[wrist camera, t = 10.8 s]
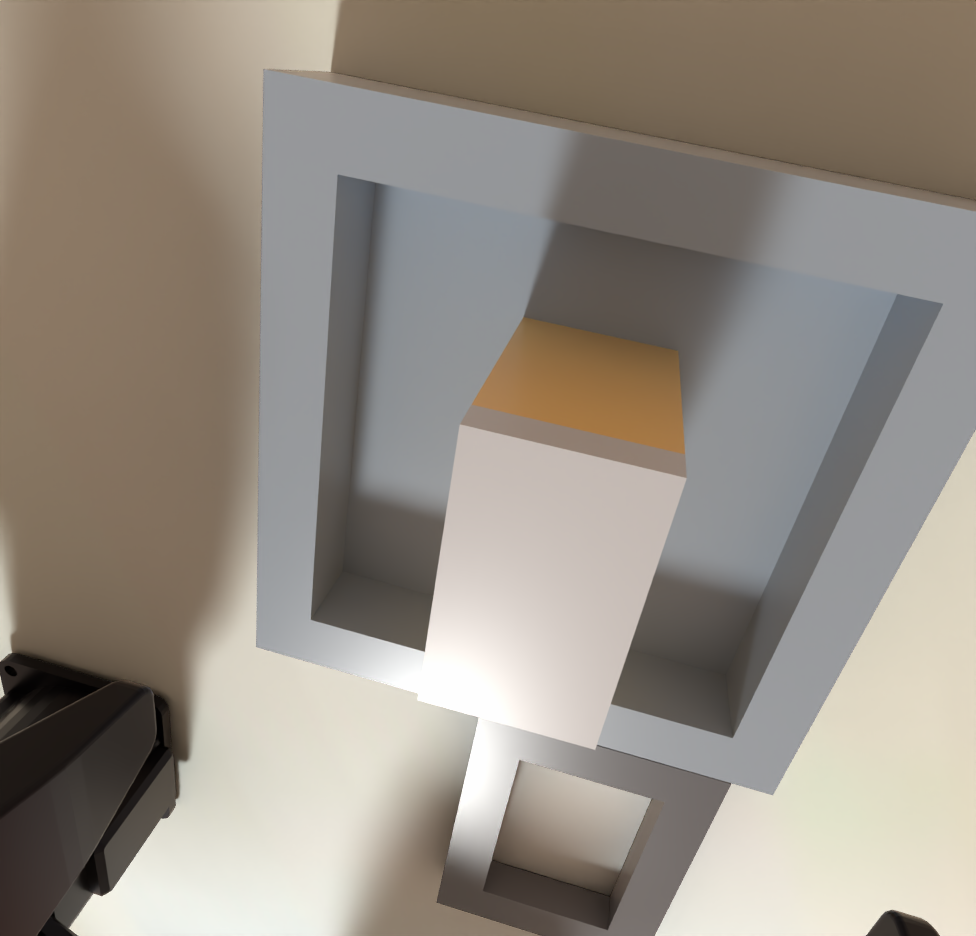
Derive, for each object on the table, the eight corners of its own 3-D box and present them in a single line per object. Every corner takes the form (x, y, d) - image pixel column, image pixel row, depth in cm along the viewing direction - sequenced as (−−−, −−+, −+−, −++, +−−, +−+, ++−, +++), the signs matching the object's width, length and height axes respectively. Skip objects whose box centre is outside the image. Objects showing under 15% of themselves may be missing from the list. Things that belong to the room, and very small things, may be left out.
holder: (444, 871, 28) (436, 902, 27) (488, 683, 23) (479, 712, 22) (639, 932, 27) (639, 966, 26) (727, 751, 22) (731, 784, 21)
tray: (303, 582, 22) (256, 646, 20) (329, 71, 16) (263, 69, 13) (758, 707, 21) (772, 795, 18) (1006, 206, 14) (1084, 233, 12)
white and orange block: (483, 534, 19) (417, 700, 14) (523, 316, 16) (459, 424, 11) (613, 567, 19) (594, 749, 14) (678, 350, 16) (686, 478, 11)
